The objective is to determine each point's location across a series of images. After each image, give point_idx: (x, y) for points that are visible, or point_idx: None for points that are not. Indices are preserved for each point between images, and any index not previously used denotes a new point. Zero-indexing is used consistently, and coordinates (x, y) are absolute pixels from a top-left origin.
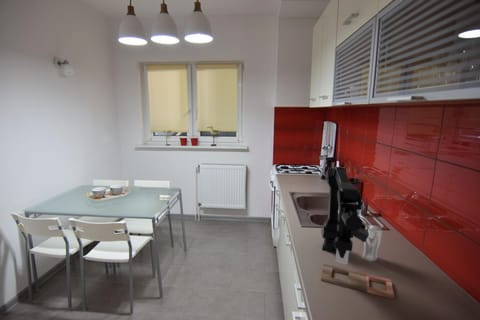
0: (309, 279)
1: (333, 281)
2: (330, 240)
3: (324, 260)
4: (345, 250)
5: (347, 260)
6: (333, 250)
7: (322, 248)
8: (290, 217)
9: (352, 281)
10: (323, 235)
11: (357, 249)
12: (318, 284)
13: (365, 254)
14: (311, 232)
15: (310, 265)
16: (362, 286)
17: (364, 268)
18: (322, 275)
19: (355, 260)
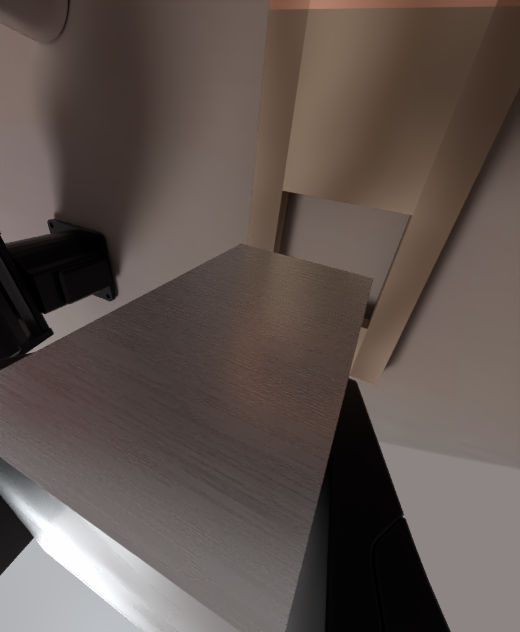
0: (379, 422)
1: (406, 320)
2: (44, 290)
3: None
4: (429, 625)
5: (363, 309)
6: (95, 247)
7: (109, 300)
8: None
9: (408, 177)
10: (34, 345)
11: (3, 81)
12: (424, 397)
13: (21, 6)
14: None
15: None
16: (496, 72)
17: (172, 33)
18: (355, 373)
19: (113, 109)
